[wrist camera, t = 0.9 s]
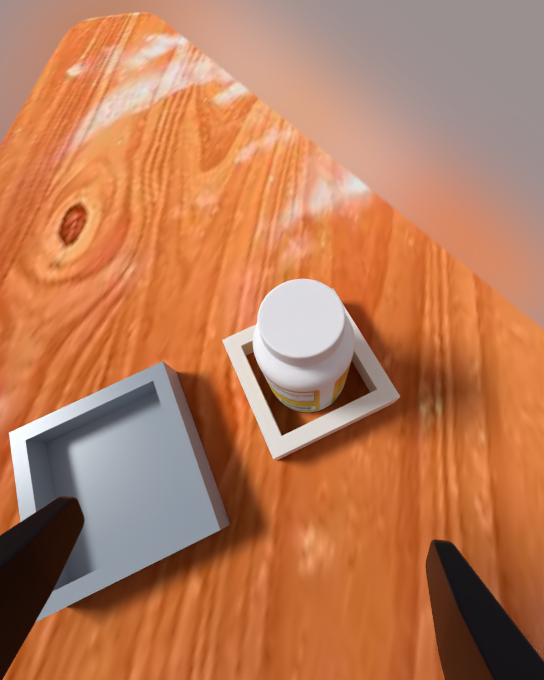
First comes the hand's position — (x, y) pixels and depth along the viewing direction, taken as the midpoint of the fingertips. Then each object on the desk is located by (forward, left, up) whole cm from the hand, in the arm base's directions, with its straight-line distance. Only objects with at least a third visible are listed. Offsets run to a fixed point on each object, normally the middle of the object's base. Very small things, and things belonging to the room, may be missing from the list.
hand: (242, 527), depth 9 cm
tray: (+6, +9, -14) cm, 18 cm away
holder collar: (+7, -5, -14) cm, 16 cm away
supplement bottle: (+7, -5, -14) cm, 17 cm away
